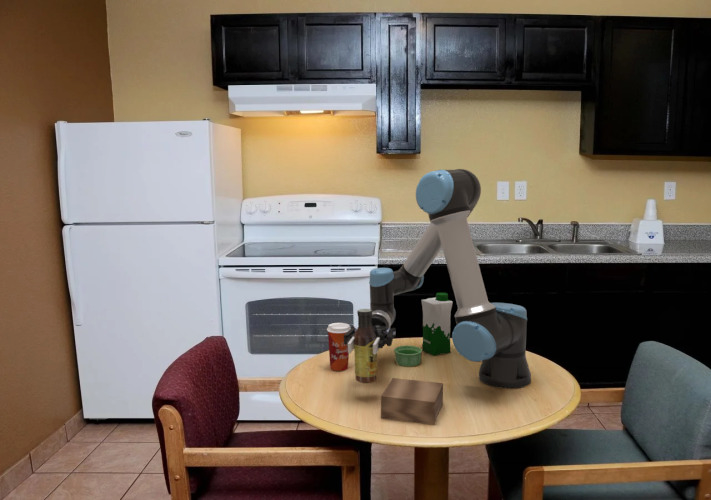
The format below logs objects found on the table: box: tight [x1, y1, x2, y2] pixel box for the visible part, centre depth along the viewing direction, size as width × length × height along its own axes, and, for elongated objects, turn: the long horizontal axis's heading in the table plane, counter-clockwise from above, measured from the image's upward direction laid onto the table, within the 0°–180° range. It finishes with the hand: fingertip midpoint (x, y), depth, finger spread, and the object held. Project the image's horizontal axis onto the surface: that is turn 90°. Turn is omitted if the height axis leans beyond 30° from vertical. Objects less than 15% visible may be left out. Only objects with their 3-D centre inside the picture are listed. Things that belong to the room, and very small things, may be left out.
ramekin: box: [393, 345, 423, 367], centre depth 195 cm, size 9×9×4 cm
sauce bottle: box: [353, 308, 378, 384], centre depth 165 cm, size 6×6×20 cm
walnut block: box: [380, 377, 444, 426], centre depth 158 cm, size 14×13×6 cm
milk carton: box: [421, 292, 453, 357], centre depth 204 cm, size 9×9×20 cm
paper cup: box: [326, 322, 351, 372], centre depth 190 cm, size 8×8×14 cm
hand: (361, 348), depth 160 cm, fingers closed on sauce bottle, 6 cm apart
